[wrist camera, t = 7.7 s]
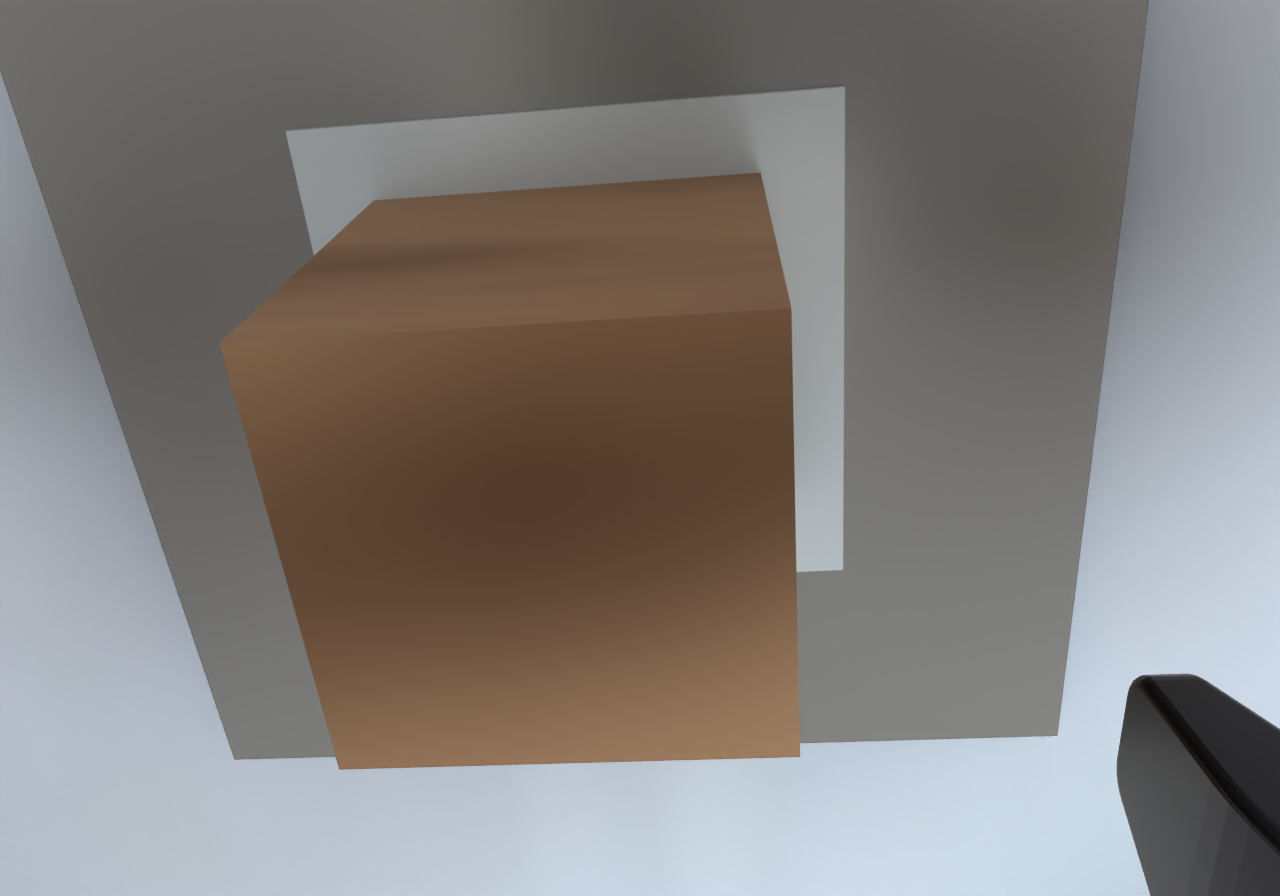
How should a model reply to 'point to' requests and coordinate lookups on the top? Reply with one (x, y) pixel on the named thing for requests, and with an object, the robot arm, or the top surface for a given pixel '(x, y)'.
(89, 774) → the top surface
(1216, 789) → the robot arm
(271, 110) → the build plate
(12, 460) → the top surface
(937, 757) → the top surface
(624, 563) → the base block
